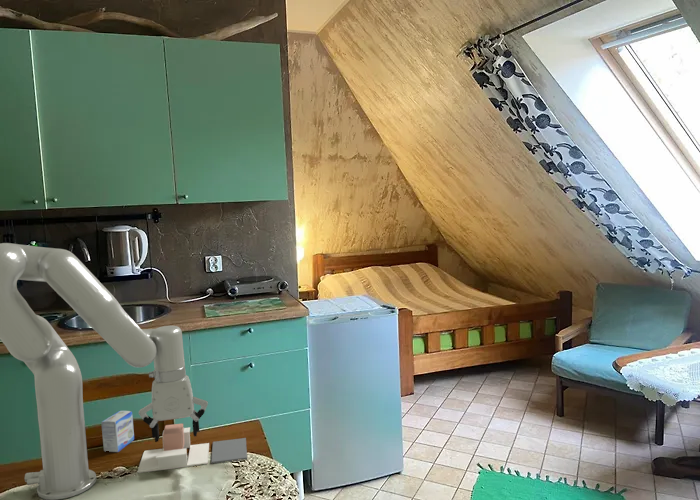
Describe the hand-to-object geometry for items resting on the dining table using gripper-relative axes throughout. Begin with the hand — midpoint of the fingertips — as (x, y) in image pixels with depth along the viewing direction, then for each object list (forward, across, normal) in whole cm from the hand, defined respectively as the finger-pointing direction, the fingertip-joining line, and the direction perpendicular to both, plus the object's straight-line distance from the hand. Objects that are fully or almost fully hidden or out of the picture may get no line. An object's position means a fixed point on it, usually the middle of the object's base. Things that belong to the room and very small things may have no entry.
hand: (176, 437), depth 145 cm
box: (+6, -1, 0) cm, 6 cm away
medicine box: (+6, -17, +12) cm, 21 cm away
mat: (+6, +13, 0) cm, 14 cm away
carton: (+6, -1, 0) cm, 6 cm away
